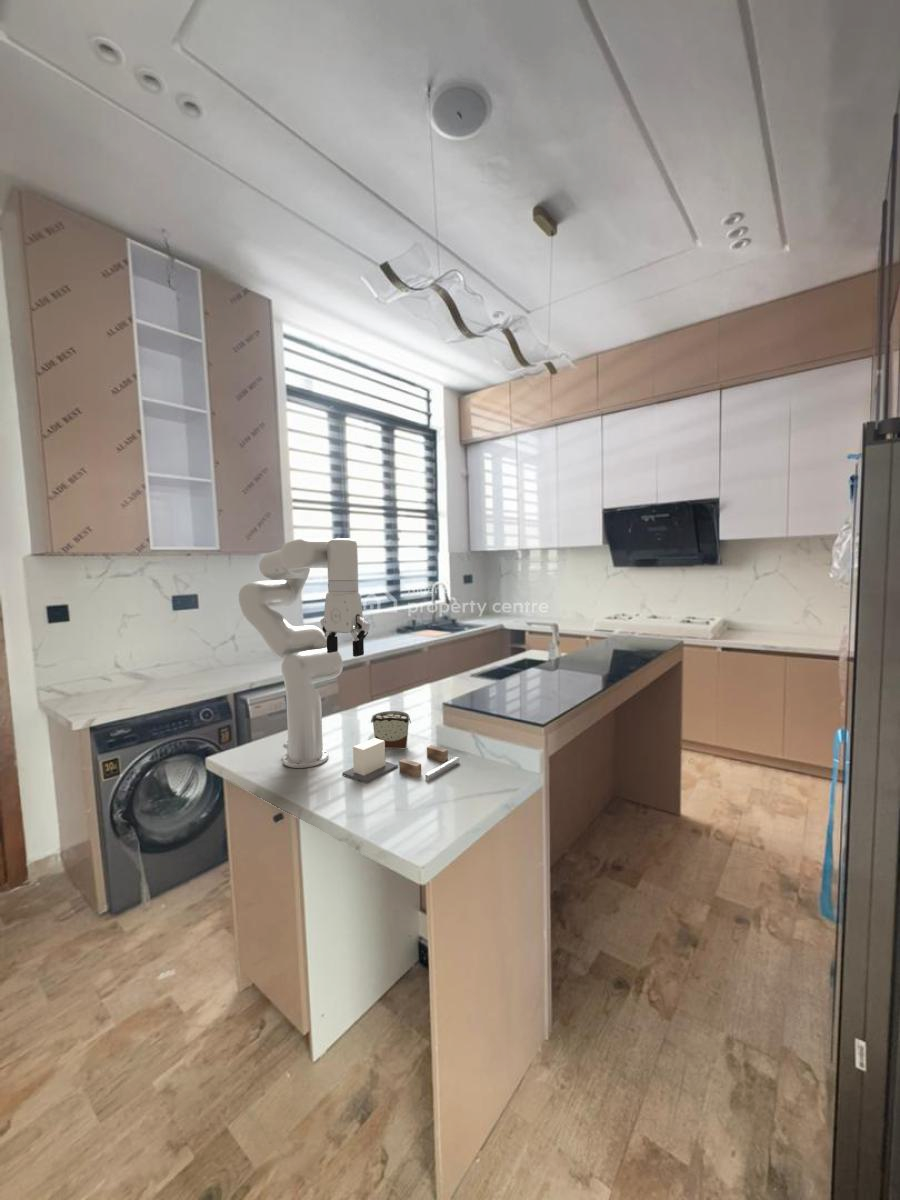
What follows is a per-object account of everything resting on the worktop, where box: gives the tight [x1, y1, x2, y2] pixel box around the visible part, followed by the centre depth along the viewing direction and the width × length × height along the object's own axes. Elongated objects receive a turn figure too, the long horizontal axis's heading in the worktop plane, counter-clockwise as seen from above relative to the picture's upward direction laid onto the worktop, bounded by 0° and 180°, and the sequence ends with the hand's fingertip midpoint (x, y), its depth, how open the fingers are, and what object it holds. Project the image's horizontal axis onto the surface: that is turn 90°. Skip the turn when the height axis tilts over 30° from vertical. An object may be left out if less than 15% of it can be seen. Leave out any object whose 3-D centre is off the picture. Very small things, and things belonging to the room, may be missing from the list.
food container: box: [370, 710, 412, 750], centre depth 152 cm, size 12×6×10 cm, turn 84°
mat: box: [342, 760, 399, 784], centre depth 133 cm, size 9×12×1 cm
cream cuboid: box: [352, 737, 386, 775], centre depth 133 cm, size 4×8×7 cm, turn 144°
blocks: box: [398, 744, 460, 782], centre depth 135 cm, size 10×14×3 cm
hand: (345, 653), depth 126 cm, fingers open, 9 cm apart
